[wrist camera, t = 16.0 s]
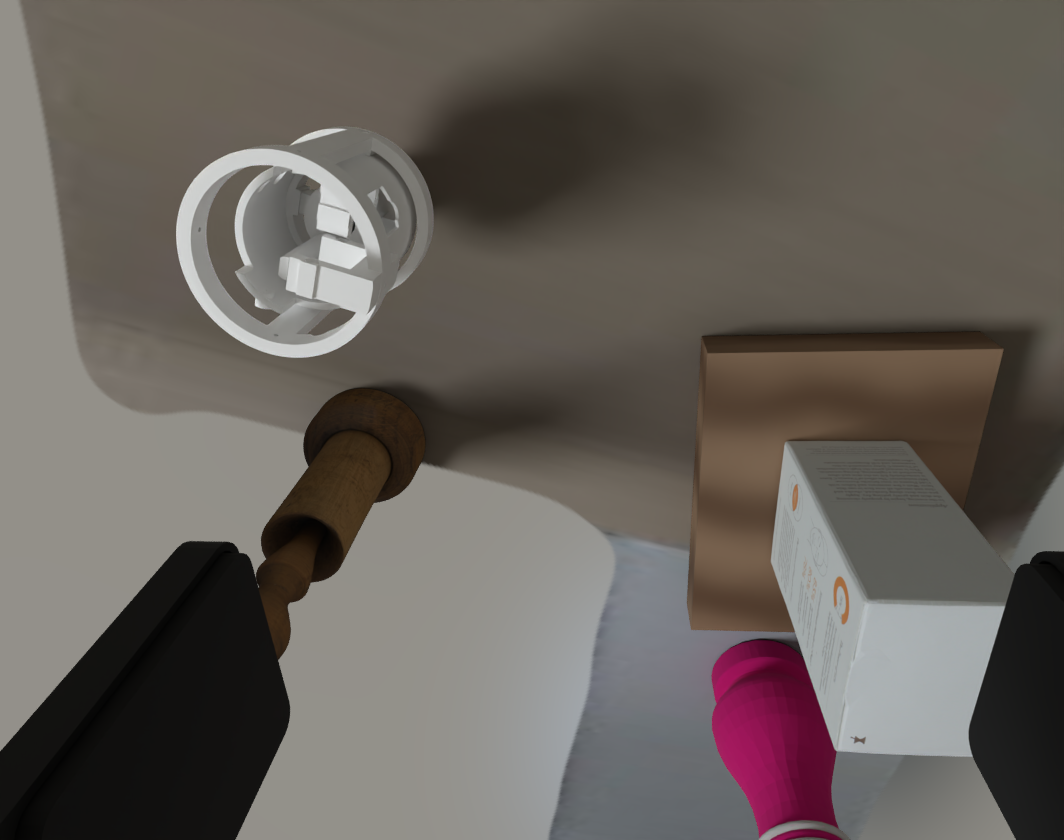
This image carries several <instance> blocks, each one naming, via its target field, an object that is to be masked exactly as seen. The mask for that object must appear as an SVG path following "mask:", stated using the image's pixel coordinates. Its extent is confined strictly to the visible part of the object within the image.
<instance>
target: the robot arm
mask: <svg viewBox="0 0 1064 840" xmlns="http://www.w3.org/2000/svg"><path fill="white" fill-rule="evenodd" d="M289 718H290V704H289V699H288V696H287V692H286V688H285V684H284V681H283V677H282V673H281V670H280V666H279V662H278V658H277V655H276V651H275V647H274V644H273V640H272V636H271V633H270V629H269V625H268V622H267V618H266V614H265V611H264V607H263V603H262V599H261V596H260V592H259V588H258V585H257V581H256V577H255V574H254V570H253V567H252V563H251V561H250V558H249V557H248V556H247V554H243V553H239V551H238V549H237V547H236V546H235V545H234V544H233V543H230V542H204V541H197V542H196V541H189V542H185V543H183V544H181V546H179V547H178V548H177V549H176V550H175V551H174V552H173V554H172V555H171V556H170V557H169V558H168V559H167V561H166V562H165V563H164V564H163V565H162V566H161V567H160V568H159V570H158V571H157V572H156V573H155V574H154V575H153V577H152V578H151V579H150V580H149V581H148V582H147V583H146V585H145V586H144V587H143V588H142V589H141V590H140V591H139V593H138V594H137V595H136V596H135V597H134V598H133V600H132V601H131V602H130V603H129V604H128V605H127V607H126V608H125V609H124V610H123V611H122V612H121V613H120V615H119V616H118V617H117V618H116V619H115V620H114V622H113V623H112V624H111V625H110V626H109V627H108V628H107V630H106V631H105V632H104V633H103V634H102V635H101V636H100V637H99V639H98V640H97V641H96V642H95V643H94V645H93V646H92V647H91V648H90V649H89V650H88V651H87V652H86V654H85V655H84V656H83V657H82V658H81V659H80V660H79V662H78V663H77V664H76V665H75V666H74V667H73V669H72V670H71V671H70V672H69V673H68V675H66V677H65V678H64V679H63V680H62V681H61V682H60V683H59V685H58V686H57V687H56V688H55V690H53V692H52V693H51V694H50V695H49V696H48V697H47V698H46V700H45V701H44V702H43V703H42V704H41V705H40V707H39V708H38V709H37V710H36V711H35V712H34V713H33V715H32V716H31V717H30V718H29V719H28V720H27V721H26V723H25V724H24V725H23V726H22V727H21V728H20V730H19V731H18V732H17V733H16V734H15V735H14V736H13V738H12V739H11V740H10V741H9V742H8V743H7V744H6V746H5V747H4V748H3V749H2V750H1V751H0V840H235V839H236V837H237V835H238V833H239V831H240V829H241V827H242V824H243V822H244V820H245V818H246V816H247V814H248V812H249V810H250V808H251V805H252V803H253V801H254V799H255V797H256V795H257V792H258V791H259V788H260V786H261V784H262V782H263V780H264V778H265V776H266V773H267V771H268V769H269V767H270V765H271V763H272V761H273V759H274V757H275V754H276V752H277V750H278V748H279V746H280V744H281V742H282V740H283V737H284V735H285V733H286V730H287V727H288V723H289ZM968 735H969V745H970V749H971V753H972V756H973V758H974V760H975V762H976V764H977V766H978V768H979V770H980V772H981V774H982V776H983V778H984V780H985V781H986V783H987V785H988V787H989V789H990V791H991V793H992V795H993V797H994V799H995V800H996V802H997V804H998V806H999V808H1000V810H1001V812H1002V814H1003V816H1004V818H1005V819H1006V821H1007V823H1008V825H1009V827H1010V829H1011V831H1012V833H1013V835H1014V836H1015V838H1016V840H1064V552H1055V551H1053V552H1052V551H1044V552H1040V553H1037V554H1036V555H1035V556H1034V557H1033V558H1032V560H1031V562H1030V564H1023V565H1021V566H1020V567H1019V568H1018V569H1017V571H1016V573H1015V575H1014V579H1013V582H1012V585H1011V589H1010V592H1009V595H1008V598H1007V602H1006V605H1005V608H1004V612H1003V615H1002V618H1001V622H1000V625H999V628H998V632H997V635H996V638H995V642H994V645H993V648H992V652H991V655H990V658H989V662H988V665H987V668H986V672H985V675H984V678H983V682H982V685H981V688H980V692H979V695H978V698H977V701H976V705H975V708H974V711H973V715H972V718H971V721H970V725H969V731H968Z"/></svg>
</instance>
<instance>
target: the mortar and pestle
mask: <svg viewBox="0 0 1064 840" xmlns="http://www.w3.org/2000/svg"><path fill="white" fill-rule="evenodd" d="M303 445H304V446H303V447H304V455H305V459H306V462H307V464H308V466H309V467H308V469H307V470H306V471H305V473H304V474H303V475H302V477H301V478H300V480H299V481H298V482H297V484H296V485H295V486H294V488H293V489H292V490H291V492H290V493H289V495H288V496H287V497H286V499H285V500H284V501H283V503H282V504H281V506H280V507H279V508H278V510H277V511H276V512H275V514H274V515H273V516H272V518H271V519H270V520H269V522H268V523H267V524H266V526H265V528H264V530H263V532H262V536H261V546H262V551H263V553H264V556H265V558H266V560H265V561H264V562H263V563H262V564H261V565H260V566H259V568H258V570H257V573H256V580H257V583H258V585H259V592H260V596H261V599H262V603H263V607H264V611H265V614H266V618H267V622H268V625H269V629H270V633H271V636H272V640H273V644H274V647H275V651H276V655H277V658H278V659H279V658H280V657H281V656H282V654H283V653H284V652H285V650H286V648H287V646H288V643H289V640H290V633H291V627H290V619H289V613H288V604H289V603H290V602H296V601H298V600H300V599H302V598H303V597H304V596H305V595H306V593H307V591H308V589H309V586H310V583H311V582H318V581H322V580H325V579H327V578H329V577H331V576H332V575H334V574H335V573H336V572H337V571H338V570H339V568H340V567H341V564H342V563H343V561H344V559H345V557H346V555H347V553H348V551H349V549H350V547H351V545H352V543H353V541H354V539H355V537H356V535H357V533H358V531H359V530H360V528H361V526H362V524H363V522H364V520H365V518H366V516H367V514H368V512H369V511H370V509H371V507H372V505H373V503H377V502H382V501H386V500H388V499H391V498H393V497H395V496H397V495H398V494H400V493H401V492H402V491H403V490H404V489H405V488H406V487H407V486H408V485H409V484H410V482H411V481H412V479H413V477H414V475H415V473H416V471H417V469H418V468H419V466H420V464H421V462H422V459H423V456H424V452H425V436H424V431H423V428H422V426H421V423H420V421H419V419H418V418H417V416H416V415H415V414H414V413H413V411H412V410H411V409H410V408H409V407H408V406H407V405H405V404H404V403H403V402H401V401H400V400H399V399H397V398H395V397H393V396H391V395H389V394H387V393H384V392H381V391H378V390H374V389H365V388H359V389H351V390H347V391H344V392H341V393H339V394H337V395H335V396H334V397H332V398H331V399H330V400H328V401H327V402H326V403H325V404H324V406H323V407H322V408H321V409H320V411H319V412H318V413H317V415H316V416H315V417H314V418H313V420H312V421H311V423H310V424H309V426H308V428H307V430H306V433H305V436H304V444H303Z"/></svg>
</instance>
